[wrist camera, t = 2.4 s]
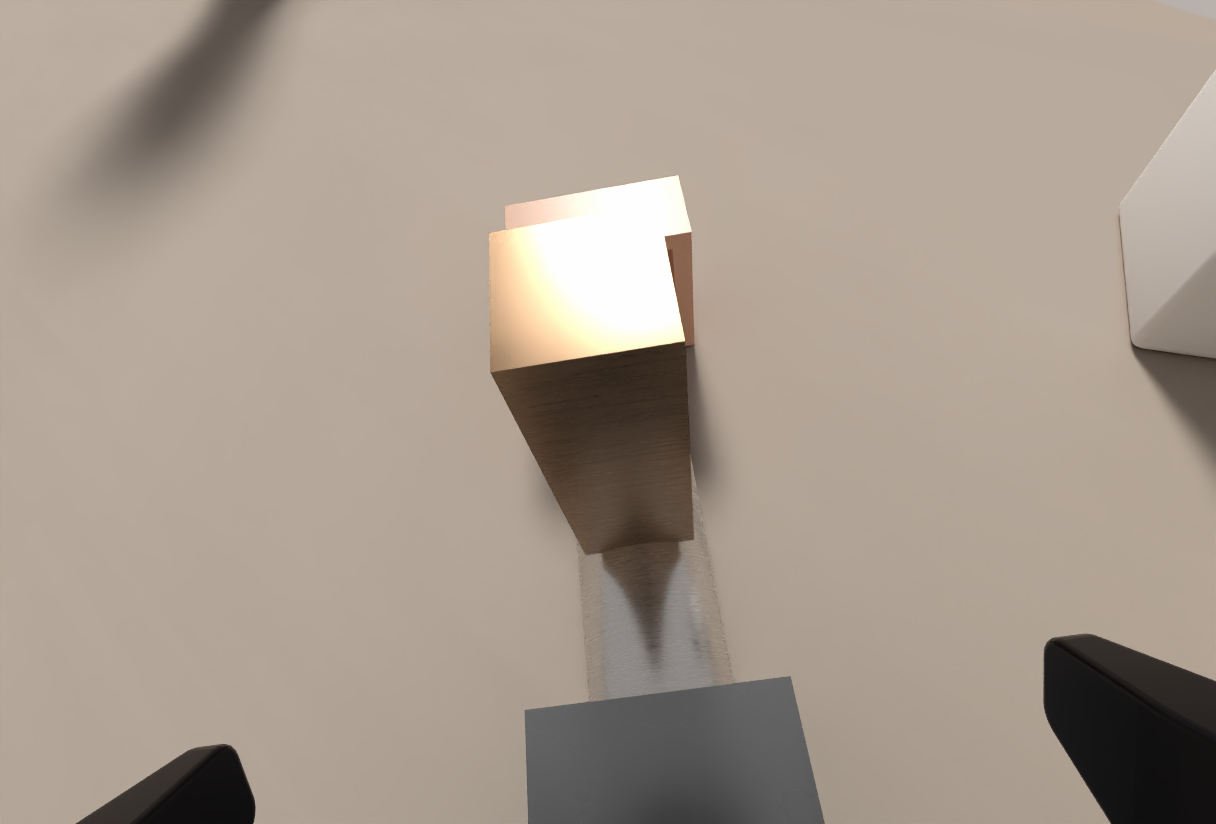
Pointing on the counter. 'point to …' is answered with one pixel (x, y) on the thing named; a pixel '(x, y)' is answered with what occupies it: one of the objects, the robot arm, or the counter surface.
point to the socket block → (622, 198)
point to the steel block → (673, 759)
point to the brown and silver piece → (612, 439)
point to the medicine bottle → (1175, 238)
